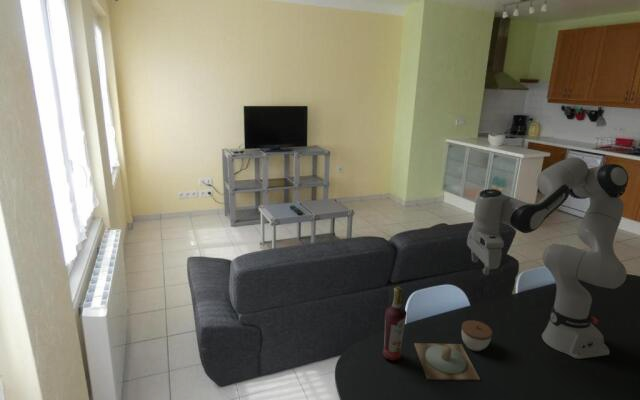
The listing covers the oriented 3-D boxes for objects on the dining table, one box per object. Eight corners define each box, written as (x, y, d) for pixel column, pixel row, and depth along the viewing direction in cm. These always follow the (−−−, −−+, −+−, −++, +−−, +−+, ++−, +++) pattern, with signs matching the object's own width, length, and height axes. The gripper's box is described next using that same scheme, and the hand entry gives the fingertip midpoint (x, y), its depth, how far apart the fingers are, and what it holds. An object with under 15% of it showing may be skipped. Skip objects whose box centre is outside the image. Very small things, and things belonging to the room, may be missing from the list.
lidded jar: (491, 357, 140) (496, 335, 137) (461, 352, 142) (464, 331, 139) (485, 339, 150) (489, 318, 147) (457, 335, 152) (460, 314, 149)
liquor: (390, 366, 134) (397, 296, 126) (377, 354, 140) (383, 286, 132) (406, 359, 138) (413, 290, 130) (392, 347, 144) (398, 281, 136)
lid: (457, 347, 144) (459, 336, 143) (472, 374, 131) (474, 362, 129) (420, 346, 144) (422, 335, 142) (431, 373, 130) (433, 362, 129)
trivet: (461, 345, 146) (461, 344, 146) (480, 380, 129) (480, 379, 129) (414, 344, 146) (414, 343, 146) (427, 379, 129) (427, 378, 128)
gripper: (464, 223, 148) (461, 255, 152) (488, 245, 129) (483, 281, 133) (481, 222, 148) (476, 254, 153) (506, 245, 129) (500, 281, 133)
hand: (479, 267), depth 143 cm, fingers open, 8 cm apart
